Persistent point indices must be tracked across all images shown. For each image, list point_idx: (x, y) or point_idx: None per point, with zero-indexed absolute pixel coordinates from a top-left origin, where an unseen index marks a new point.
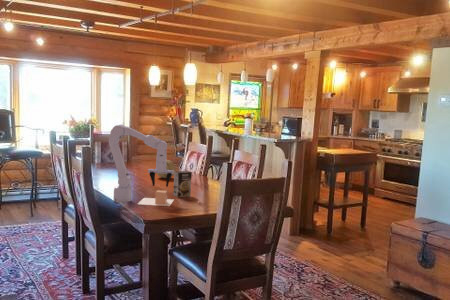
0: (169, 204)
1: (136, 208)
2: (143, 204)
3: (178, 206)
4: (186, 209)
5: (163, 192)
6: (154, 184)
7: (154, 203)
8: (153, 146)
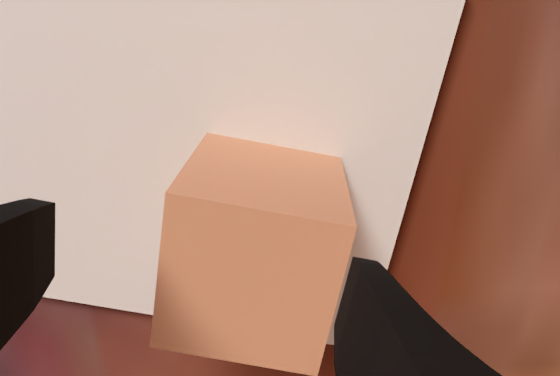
0: None
1: (25, 352)
2: (64, 298)
3: (473, 256)
4: (535, 371)
5: (282, 364)
6: (44, 226)
7: None
8: None
